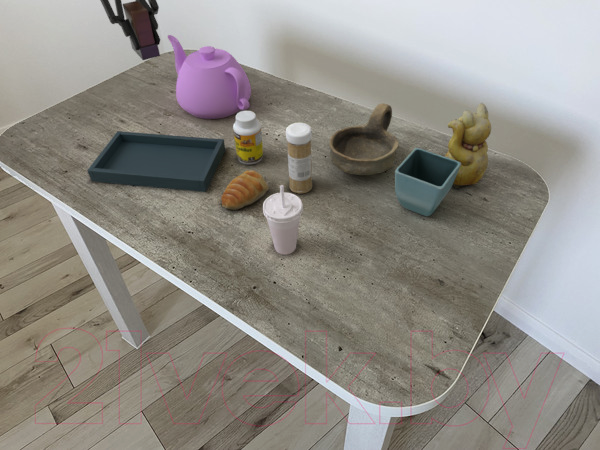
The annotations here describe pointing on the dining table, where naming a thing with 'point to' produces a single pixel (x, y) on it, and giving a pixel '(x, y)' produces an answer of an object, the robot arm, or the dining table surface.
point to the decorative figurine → (470, 145)
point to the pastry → (244, 190)
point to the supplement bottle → (248, 138)
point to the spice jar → (299, 157)
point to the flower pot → (424, 180)
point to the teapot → (210, 82)
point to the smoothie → (283, 219)
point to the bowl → (365, 145)
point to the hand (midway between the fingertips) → (148, 44)
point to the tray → (158, 161)
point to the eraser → (141, 30)
